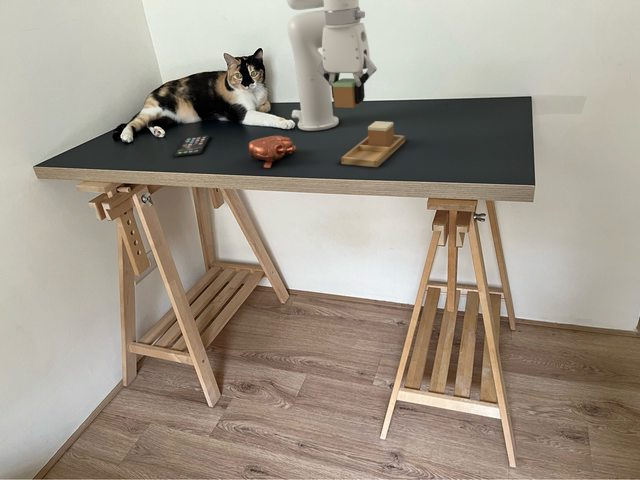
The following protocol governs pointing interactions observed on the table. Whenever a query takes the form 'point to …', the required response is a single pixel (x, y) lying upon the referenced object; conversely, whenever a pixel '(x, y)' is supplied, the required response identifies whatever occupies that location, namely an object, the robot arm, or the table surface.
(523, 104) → the table surface
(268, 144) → the heart
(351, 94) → the pad sage
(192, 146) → the smartphone
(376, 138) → the pad cream
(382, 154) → the wooden divided tray
